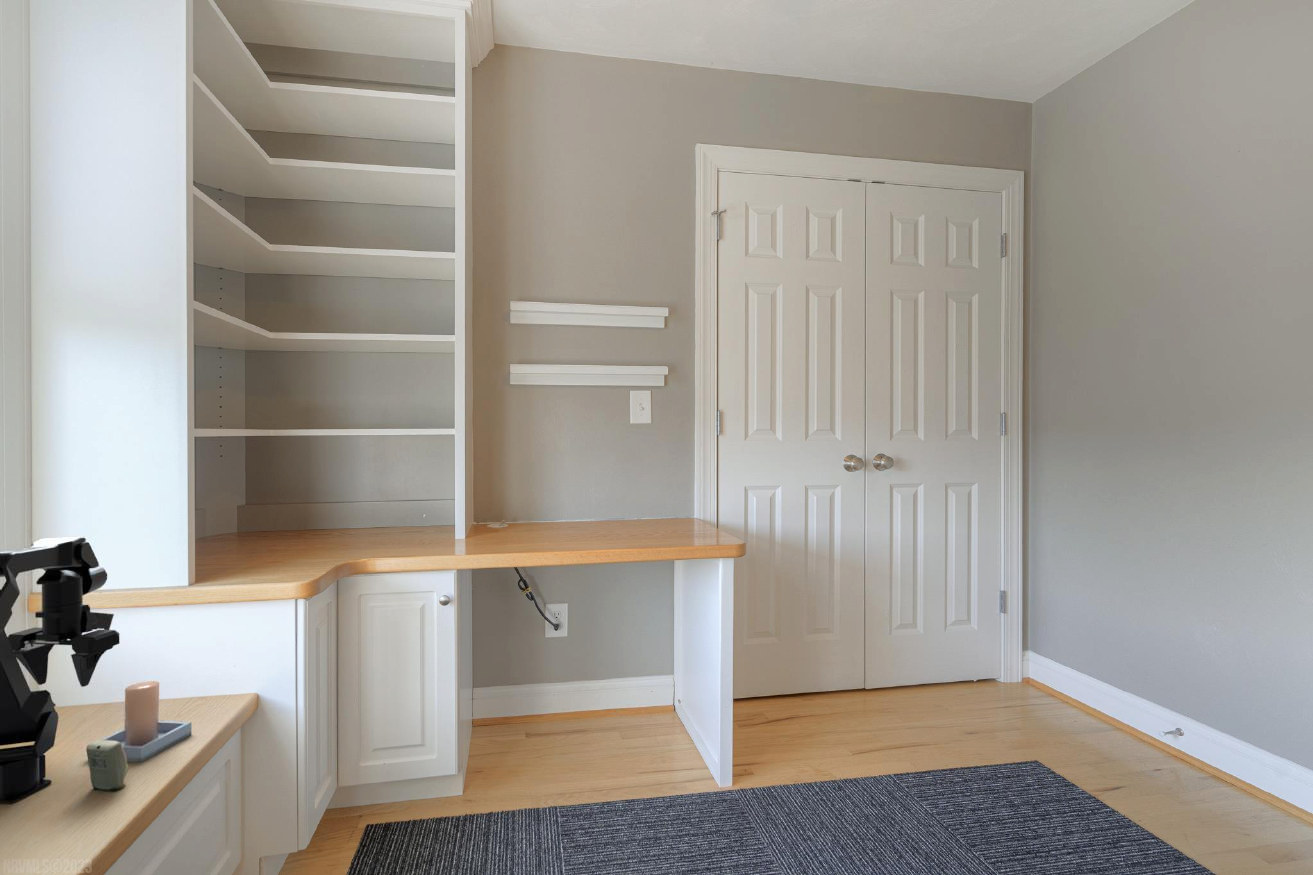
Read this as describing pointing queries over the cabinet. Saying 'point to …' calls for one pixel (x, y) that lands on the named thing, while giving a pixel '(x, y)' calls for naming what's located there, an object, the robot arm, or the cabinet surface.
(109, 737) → the tray
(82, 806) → the cabinet surface
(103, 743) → the power adapter
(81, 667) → the robot arm
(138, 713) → the peach rounded peg
